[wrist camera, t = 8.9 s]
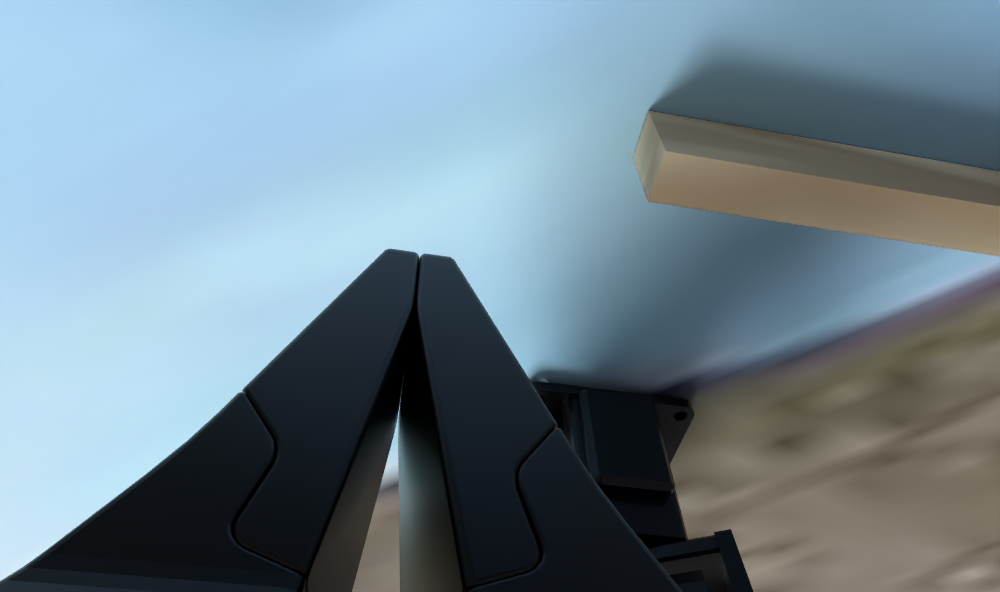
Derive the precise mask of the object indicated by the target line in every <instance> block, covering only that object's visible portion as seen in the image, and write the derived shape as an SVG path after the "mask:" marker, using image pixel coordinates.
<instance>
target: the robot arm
mask: <svg viewBox="0 0 1000 592" xmlns="http://www.w3.org/2000/svg"><path fill="white" fill-rule="evenodd" d="M401 391H402V393H401ZM539 394H540V396H539ZM400 398H401V401H400ZM399 405H400V410H399ZM398 411H399V425H398V459H399V537H400V592H753V589H752V587H751V584H750V581H749V578H748V576H747V573H746V570H745V567H744V564H743V562H742V559H741V556H740V553H739V551H738V548H737V545H736V542H735V539H734V537H733V534H732V531H731V529H729V530H724V531H718V532H714V535H712V536H707V537H701V538H695V539H690V540H688V538H687V534H686V530H685V526H684V522H683V518H682V514H681V510H680V506H679V502H678V498H677V494H676V490H675V483H674V479H673V476H672V472H671V468H670V463H671V461H672V459H673V457H674V455H675V453H676V451H677V449H678V447H679V445H680V443H681V441H682V439H683V437H684V435H685V433H686V431H687V429H688V427H689V425H690V423H691V421H692V419H693V416H694V412H693V409H692V406H691V403H690V402H689V401H687V400H684V399H678V398H670V397H662V396H653V395H645V394H637V393H628V392H620V391H612V390H603V389H595V388H587V387H579V386H570V385H562V384H554V383H545V382H533V383H531V381H530V380H529V378H528V377H527V375H526V373H525V372H524V370H523V369H522V367H521V365H520V364H519V362H518V361H517V359H516V358H515V356H514V354H513V353H512V351H511V350H510V348H509V346H508V345H507V343H506V342H505V340H504V338H503V337H502V335H501V334H500V332H499V330H498V329H497V327H496V326H495V324H494V323H493V321H492V319H491V318H490V316H489V315H488V313H487V311H486V310H485V308H484V307H483V305H482V303H481V302H480V300H479V299H478V297H477V295H476V294H475V292H474V291H473V289H472V287H471V286H470V284H469V283H468V281H467V280H466V278H465V276H464V275H463V273H462V272H461V270H460V268H459V267H458V265H457V264H456V262H455V261H454V259H452V258H451V257H446V256H439V255H431V254H423V255H421V257H420V259H419V256H418V254H417V253H415V252H410V251H403V250H396V249H387V250H385V251H384V252H383V253H382V254H381V255H380V256H379V257H378V258H377V259H376V260H375V261H374V262H373V263H372V264H371V265H370V266H369V267H368V268H367V269H366V270H365V271H363V272H362V273H361V274H360V275H359V276H358V277H357V278H356V279H355V280H354V281H353V282H352V283H351V284H350V285H349V286H348V287H347V288H346V289H345V290H344V291H343V292H342V293H341V294H340V295H339V296H338V297H337V298H336V299H335V300H334V301H333V302H332V303H331V304H330V305H329V306H328V307H327V308H326V309H325V310H324V311H322V312H321V313H320V314H319V315H318V316H317V317H316V318H315V319H314V320H313V321H312V322H311V323H310V324H309V325H308V326H307V327H306V328H305V329H304V330H303V331H302V332H301V333H300V334H299V335H298V336H297V337H296V338H295V339H294V340H293V341H292V342H291V343H290V344H289V345H288V346H287V347H286V348H285V349H284V350H282V351H281V352H280V353H279V354H278V355H277V356H276V357H275V358H274V359H273V360H272V361H271V362H270V363H269V364H268V365H267V366H266V367H265V368H264V369H263V370H262V371H261V372H260V373H259V374H258V375H257V376H256V377H255V378H254V379H253V380H252V381H251V382H250V383H249V384H248V385H247V386H246V387H245V388H244V389H243V391H242V392H241V393H238V394H237V395H236V396H235V397H234V398H233V399H232V400H231V401H230V402H229V403H228V404H227V405H226V406H225V407H224V408H223V409H222V410H221V411H220V412H219V413H217V414H216V415H215V416H214V417H213V418H212V419H211V420H210V421H209V422H208V423H206V424H205V425H204V426H203V427H202V428H201V429H200V430H199V431H198V432H197V433H196V434H194V435H193V436H192V437H191V438H190V439H189V440H188V441H187V442H185V443H184V444H183V445H182V446H180V447H179V448H178V449H177V450H175V451H174V452H173V453H172V454H171V455H169V456H168V457H167V458H166V459H164V460H163V461H162V462H161V463H159V464H158V465H157V466H156V467H154V468H153V469H152V470H151V471H149V472H148V473H147V474H146V475H144V476H143V477H142V478H140V479H139V480H138V481H136V482H135V483H134V484H133V485H131V486H130V487H129V488H127V489H126V490H125V491H123V492H122V493H121V494H119V495H118V496H117V497H115V498H114V499H113V500H112V501H110V502H109V503H108V504H106V505H105V506H104V507H102V508H101V509H100V510H98V511H97V512H96V513H95V514H93V515H92V516H91V517H89V518H88V519H87V520H85V521H84V522H83V523H81V524H80V525H79V526H77V527H76V528H75V529H74V530H72V531H71V532H70V533H68V534H67V535H66V536H64V537H63V538H62V539H60V540H59V541H58V542H57V543H55V544H54V545H53V546H51V547H50V548H49V549H47V550H46V551H45V552H43V553H42V554H41V555H39V556H38V557H36V558H35V559H34V560H32V561H31V562H29V563H28V564H27V565H25V566H24V567H22V568H21V569H19V570H18V571H16V572H14V573H13V574H11V575H9V576H8V577H6V578H5V579H3V580H1V581H0V592H352V589H353V585H354V581H355V578H356V574H357V570H358V566H359V563H360V559H361V555H362V551H363V548H364V544H365V540H366V537H367V533H368V529H369V525H370V522H371V518H372V514H373V510H374V507H375V503H376V499H377V495H378V492H379V488H380V484H381V481H382V477H383V473H384V469H385V466H386V462H387V458H388V454H389V451H390V447H391V443H392V439H393V435H394V431H395V427H396V423H397V417H398ZM679 411H682V412H680V413H677V412H679Z"/></svg>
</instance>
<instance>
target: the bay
mask: <svg viewBox="0 0 1000 592" xmlns="http://www.w3.org/2000/svg"><path fill="white" fill-rule="evenodd" d="M633 160H634V163H635V166H636V169H637V172H638V175H639V177H640V180H641V183H642V186H643V189H644V192H645V195H646V197H647V200H648V201H649V202H655V203H662V204H668V205H674V206H681V207H687V208H694V209H700V210H706V211H713V212H719V213H726V214H732V215H739V216H745V217H751V218H758V219H764V220H771V221H777V222H783V223H790V224H796V225H803V226H809V227H815V228H822V229H828V230H835V231H841V232H847V233H854V234H860V235H867V236H873V237H879V238H886V239H892V240H899V241H905V242H912V243H918V244H924V245H931V246H937V247H944V248H950V249H956V250H963V251H969V252H976V253H982V254H988V255H995V256H1000V171H996V170H990V169H984V168H978V167H973V166H967V165H961V164H955V163H949V162H944V161H938V160H932V159H926V158H920V157H915V156H909V155H903V154H897V153H892V152H886V151H880V150H874V149H868V148H863V147H857V146H851V145H845V144H839V143H834V142H828V141H822V140H816V139H810V138H805V137H799V136H793V135H787V134H782V133H776V132H770V131H764V130H758V129H753V128H747V127H741V126H735V125H729V124H724V123H718V122H712V121H706V120H701V119H695V118H689V117H683V116H677V115H672V114H666V113H660V112H654V111H648V113H647V116H646V119H645V122H644V125H643V128H642V131H641V134H640V137H639V140H638V143H637V146H636V149H635V152H634V155H633Z"/></svg>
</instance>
